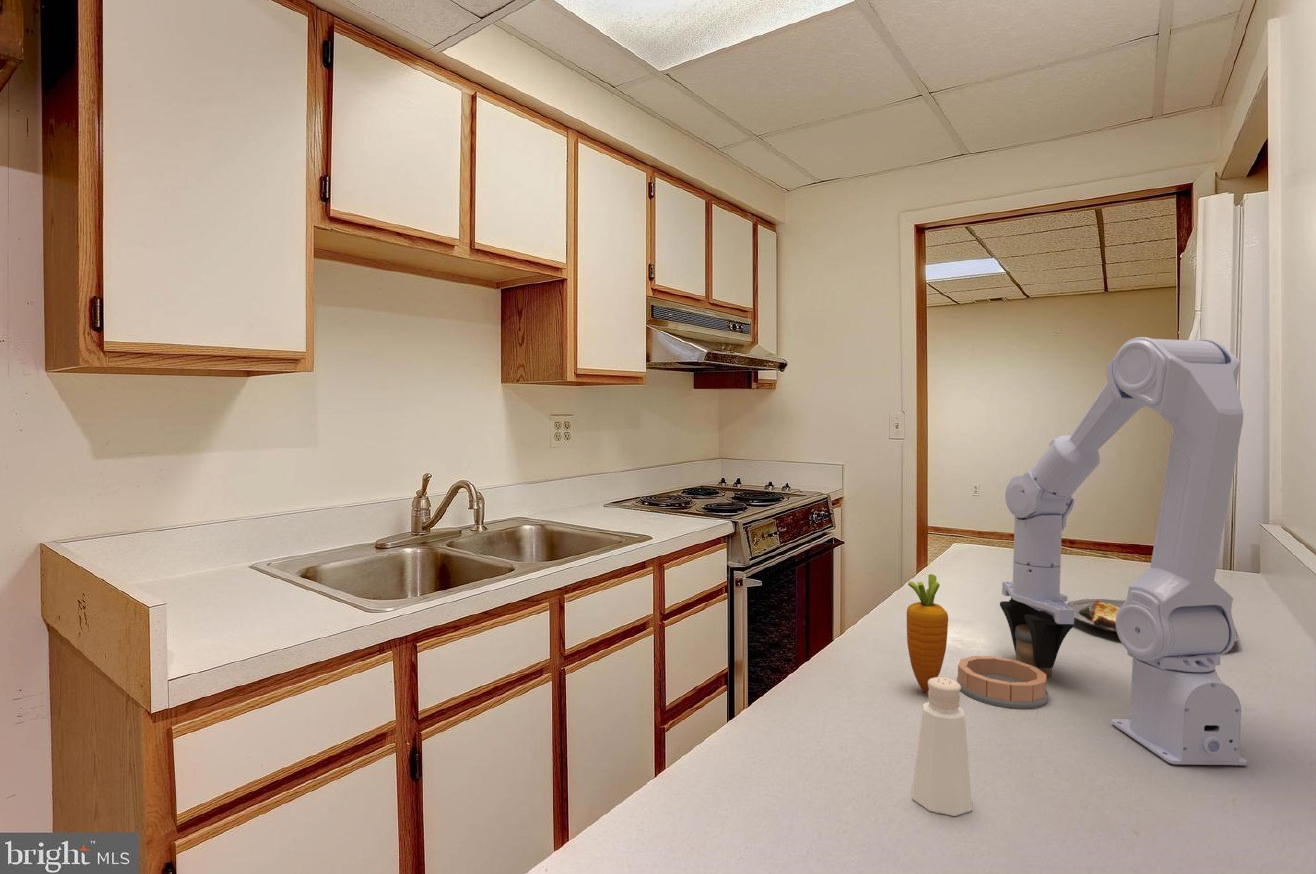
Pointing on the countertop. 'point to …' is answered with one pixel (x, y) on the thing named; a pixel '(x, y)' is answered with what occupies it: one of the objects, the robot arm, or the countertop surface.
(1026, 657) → the walnut pepper mill
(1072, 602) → the food plate
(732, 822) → the countertop surface
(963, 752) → the salt shaker
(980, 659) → the coaster
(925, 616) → the carrot
